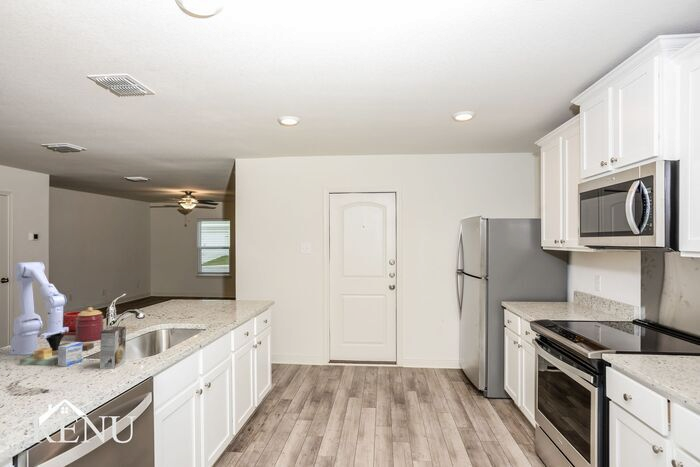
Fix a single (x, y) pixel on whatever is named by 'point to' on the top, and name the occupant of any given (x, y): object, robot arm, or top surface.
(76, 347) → the medicine box
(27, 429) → the top surface
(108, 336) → the coffee box
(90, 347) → the wooden slab structure
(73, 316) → the plant pot
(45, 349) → the block
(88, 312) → the canister
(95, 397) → the top surface
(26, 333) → the robot arm
